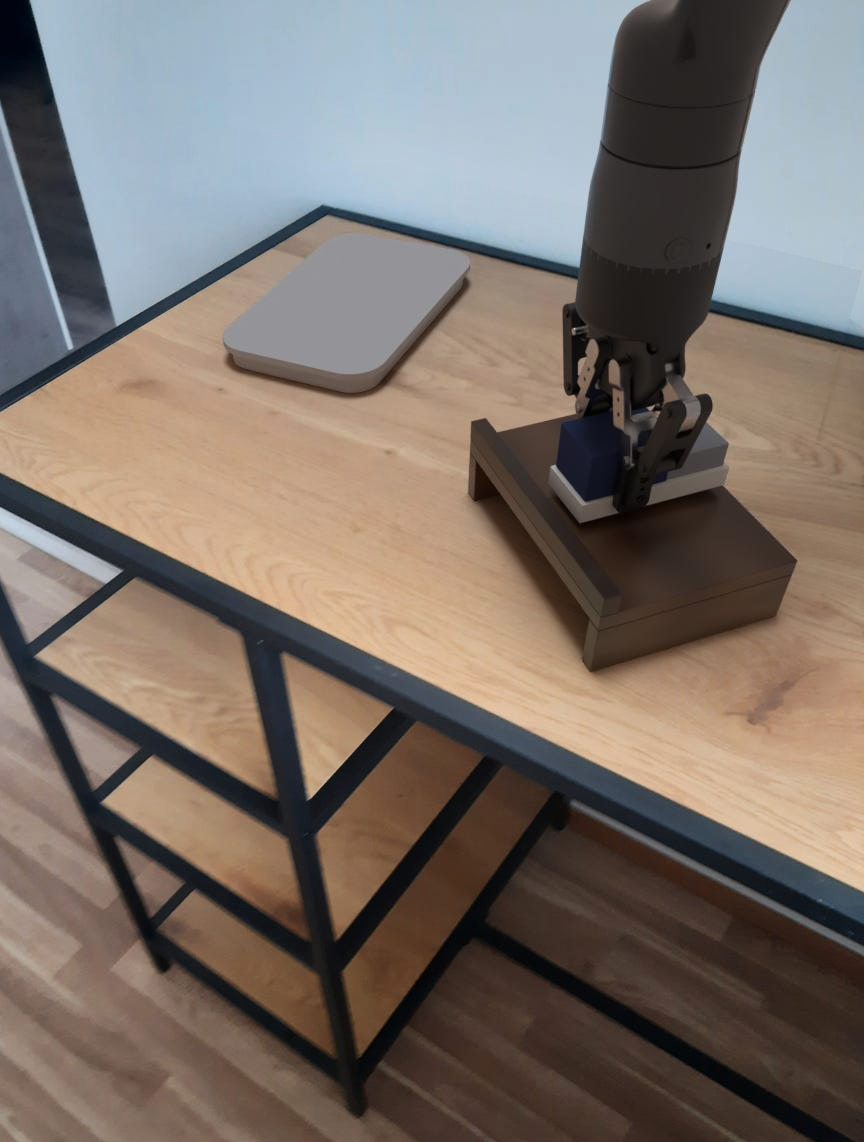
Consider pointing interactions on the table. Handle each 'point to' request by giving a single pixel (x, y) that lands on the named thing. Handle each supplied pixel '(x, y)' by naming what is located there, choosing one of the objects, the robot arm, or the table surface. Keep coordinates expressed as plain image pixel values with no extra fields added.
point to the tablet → (347, 311)
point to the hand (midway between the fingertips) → (608, 483)
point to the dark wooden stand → (636, 551)
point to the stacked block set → (595, 461)
